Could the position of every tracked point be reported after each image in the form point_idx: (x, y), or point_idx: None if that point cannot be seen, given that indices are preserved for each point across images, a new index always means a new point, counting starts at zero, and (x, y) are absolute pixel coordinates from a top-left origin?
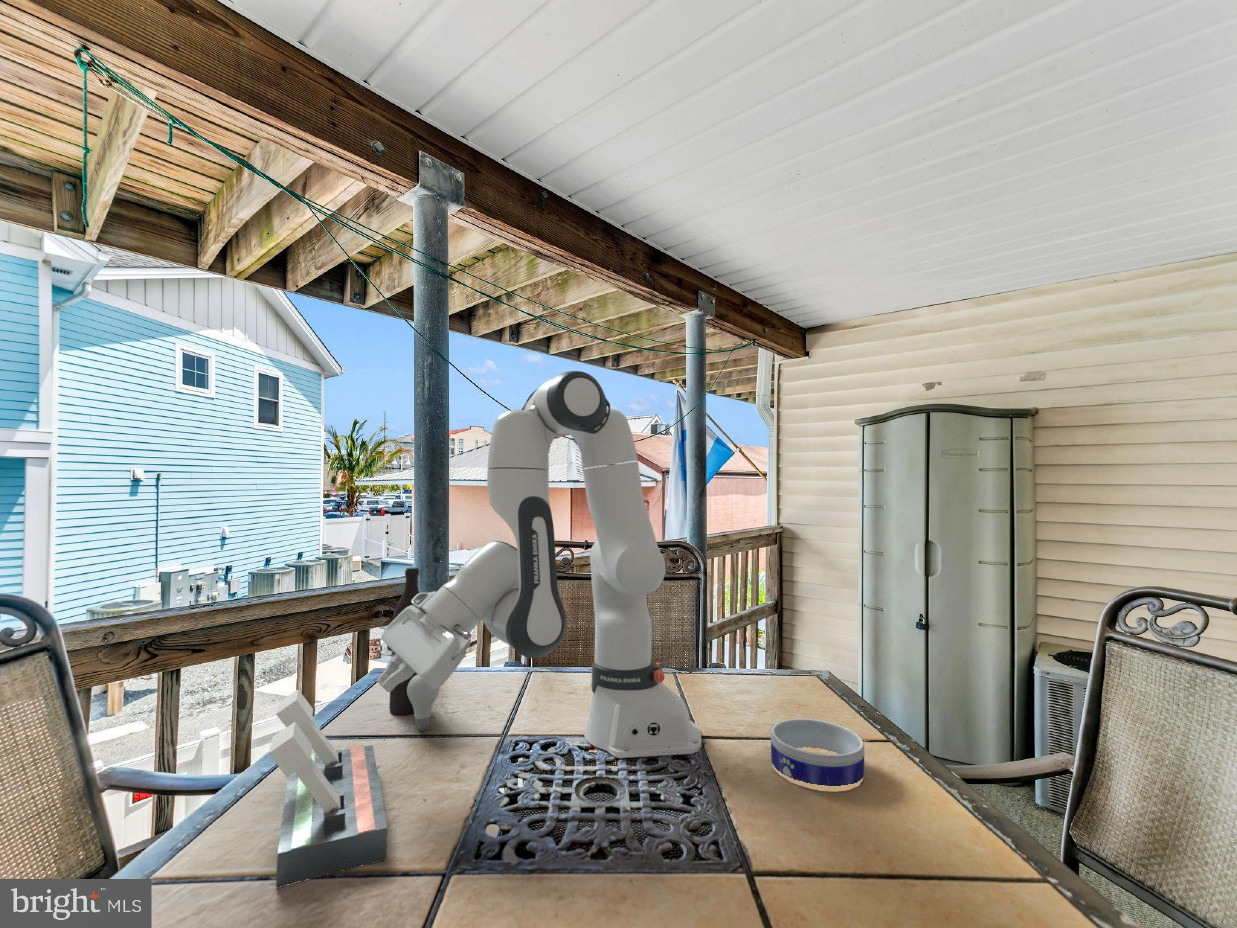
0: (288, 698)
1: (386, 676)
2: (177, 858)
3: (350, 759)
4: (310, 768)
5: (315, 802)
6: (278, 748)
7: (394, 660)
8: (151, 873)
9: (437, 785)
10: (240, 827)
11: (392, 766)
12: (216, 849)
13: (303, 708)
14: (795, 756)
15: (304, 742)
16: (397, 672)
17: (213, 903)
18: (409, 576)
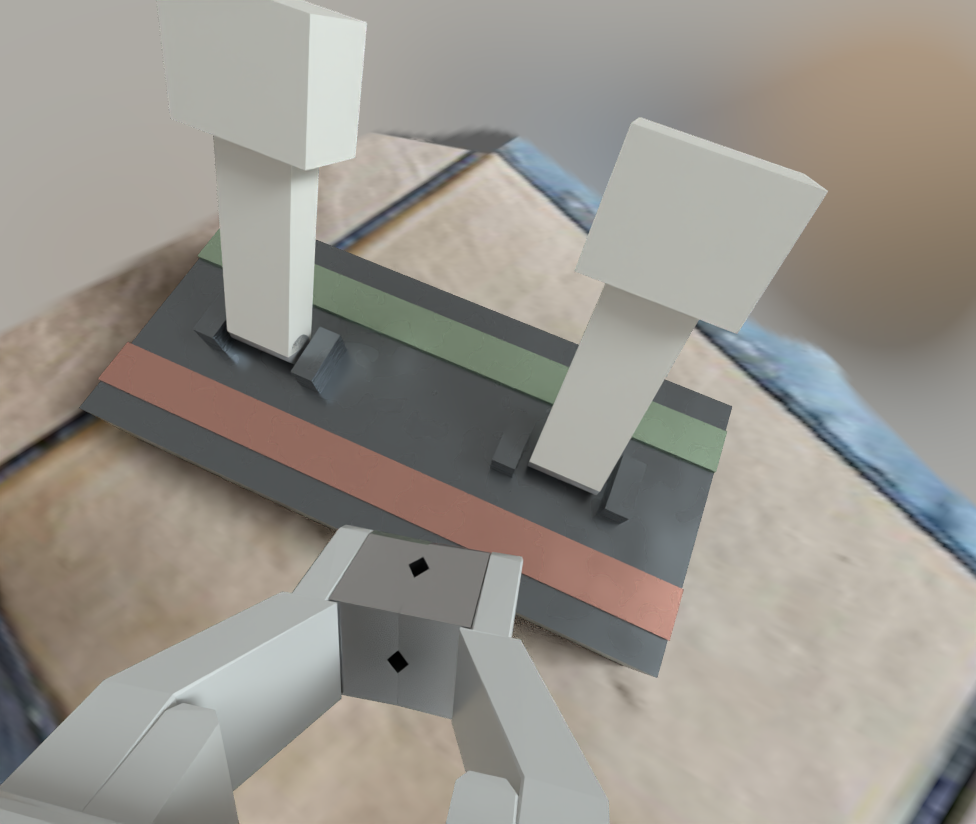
0: (760, 163)
1: (388, 590)
2: (524, 190)
3: (585, 543)
4: (215, 162)
5: (385, 344)
6: None
7: (456, 803)
8: (507, 157)
9: (326, 784)
10: (554, 289)
11: (593, 739)
12: (500, 237)
13: (614, 198)
14: None
15: (240, 89)
16: (182, 647)
17: (325, 189)
18: None
